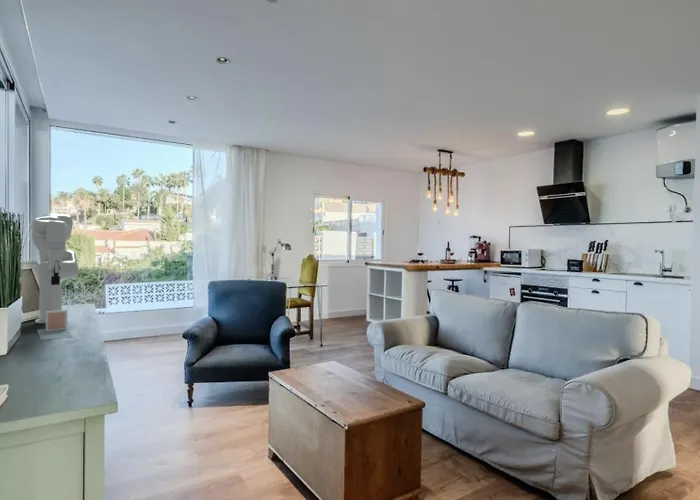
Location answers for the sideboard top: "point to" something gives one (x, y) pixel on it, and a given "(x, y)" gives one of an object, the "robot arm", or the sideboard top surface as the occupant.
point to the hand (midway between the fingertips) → (55, 284)
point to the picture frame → (56, 320)
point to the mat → (53, 334)
